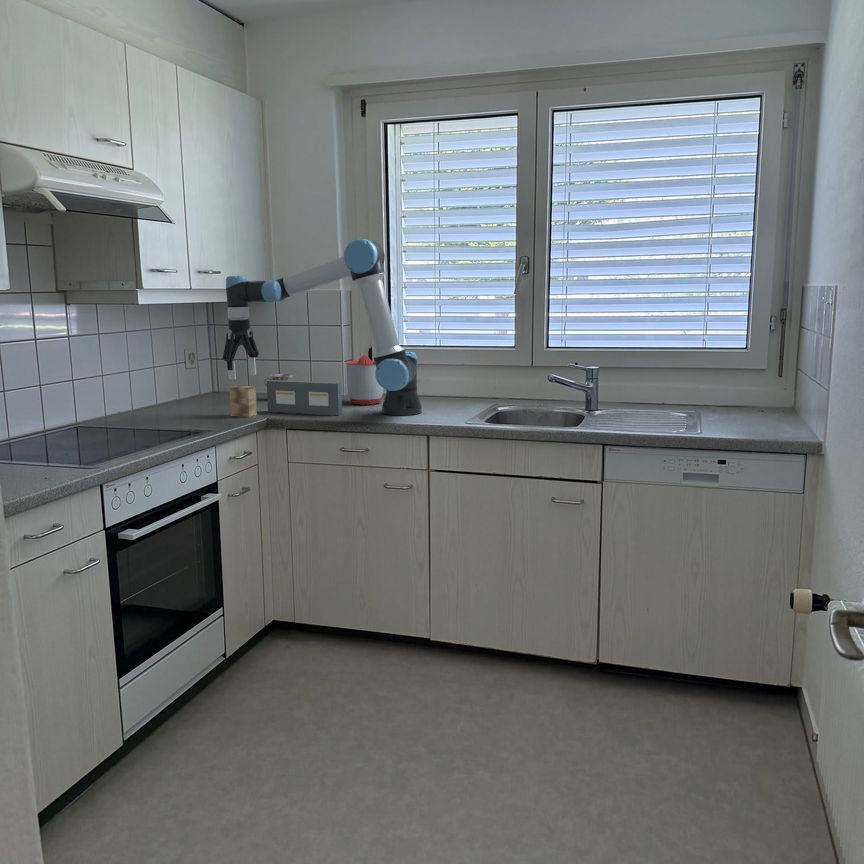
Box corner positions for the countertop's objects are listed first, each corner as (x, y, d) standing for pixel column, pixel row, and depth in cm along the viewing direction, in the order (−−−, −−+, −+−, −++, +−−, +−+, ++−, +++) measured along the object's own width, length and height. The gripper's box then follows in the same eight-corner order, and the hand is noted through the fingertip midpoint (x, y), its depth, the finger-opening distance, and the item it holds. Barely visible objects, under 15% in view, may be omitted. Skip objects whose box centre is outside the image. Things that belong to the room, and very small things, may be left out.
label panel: (342, 414, 293) (341, 382, 291) (338, 415, 290) (337, 383, 287) (272, 410, 303) (270, 380, 300) (267, 412, 299) (265, 381, 297)
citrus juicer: (385, 406, 311) (384, 356, 308) (342, 406, 313) (341, 356, 310) (392, 400, 327) (391, 353, 323) (351, 400, 329) (350, 352, 325)
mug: (295, 398, 336) (294, 373, 334) (292, 401, 327) (291, 376, 325) (267, 398, 335) (266, 374, 333) (263, 401, 326) (262, 376, 324)
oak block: (256, 415, 292) (255, 386, 290) (249, 417, 288) (248, 388, 286) (238, 414, 295) (236, 385, 293) (230, 416, 290) (229, 387, 288)
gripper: (248, 317, 297) (252, 373, 301) (209, 320, 274) (214, 380, 278) (265, 317, 295) (269, 373, 299) (228, 320, 272) (232, 381, 276)
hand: (242, 377), depth 289 cm, fingers open, 13 cm apart
